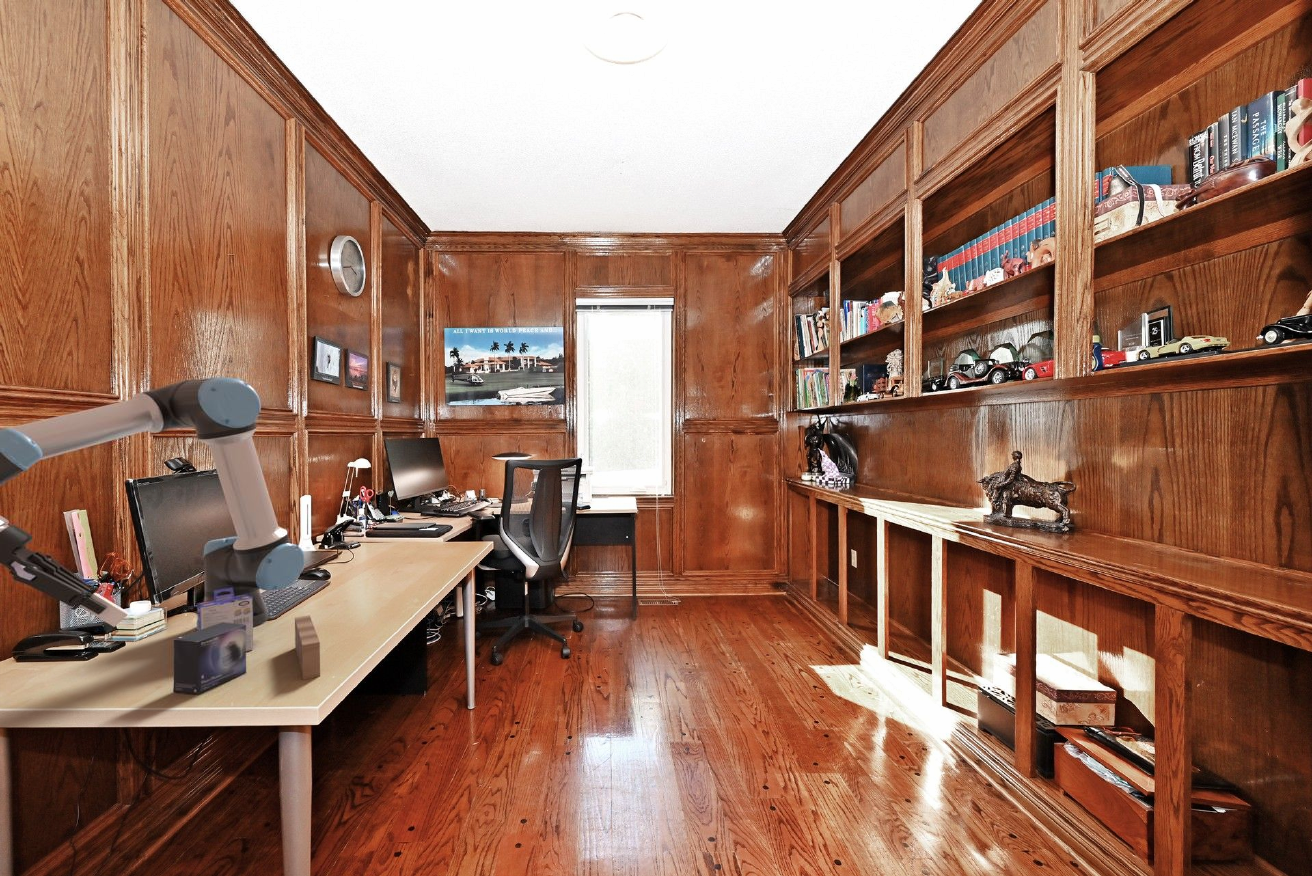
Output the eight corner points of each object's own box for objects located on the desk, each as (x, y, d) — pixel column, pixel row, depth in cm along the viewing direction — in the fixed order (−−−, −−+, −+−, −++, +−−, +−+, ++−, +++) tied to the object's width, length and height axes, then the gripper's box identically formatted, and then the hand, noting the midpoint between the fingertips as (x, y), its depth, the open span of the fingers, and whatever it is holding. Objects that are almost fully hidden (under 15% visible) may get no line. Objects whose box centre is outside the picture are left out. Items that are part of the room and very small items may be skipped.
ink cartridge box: (249, 644, 137) (248, 583, 137) (255, 649, 133) (254, 587, 133) (196, 656, 130) (195, 592, 129) (201, 662, 126) (200, 596, 126)
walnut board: (295, 647, 134) (294, 617, 134) (310, 644, 136) (309, 615, 136) (303, 679, 116) (302, 645, 116) (320, 676, 118) (319, 642, 118)
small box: (199, 695, 110) (198, 641, 110) (171, 693, 111) (170, 639, 111) (248, 673, 120) (247, 622, 120) (222, 670, 121) (221, 621, 121)
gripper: (-21, 552, 102) (109, 627, 111) (-52, 564, 91) (95, 647, 101) (23, 519, 105) (145, 595, 114) (-3, 527, 94) (135, 611, 104)
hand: (121, 619), depth 107 cm, fingers closed
